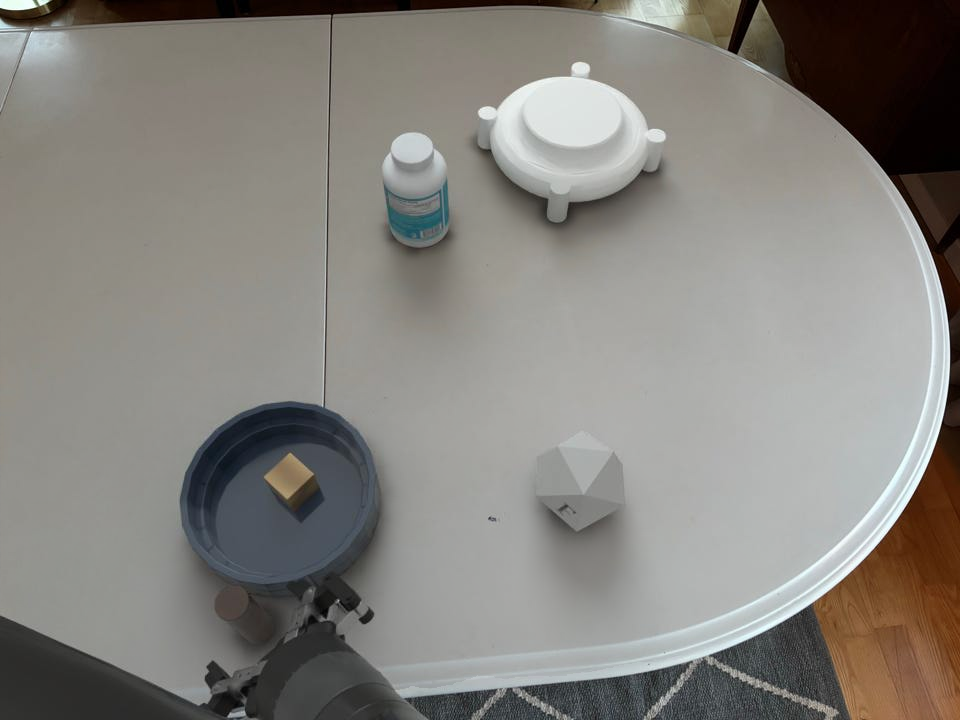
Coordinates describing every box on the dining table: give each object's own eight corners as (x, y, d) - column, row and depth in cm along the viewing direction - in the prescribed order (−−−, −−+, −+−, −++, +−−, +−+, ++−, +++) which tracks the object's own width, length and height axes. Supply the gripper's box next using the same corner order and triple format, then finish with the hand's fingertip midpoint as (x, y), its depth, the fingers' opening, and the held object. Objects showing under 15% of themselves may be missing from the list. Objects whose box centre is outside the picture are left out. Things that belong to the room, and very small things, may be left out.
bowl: (281, 640, 73) (269, 628, 69) (157, 512, 79) (139, 494, 75) (418, 498, 80) (415, 479, 76) (295, 391, 86) (285, 368, 82)
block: (294, 512, 79) (287, 499, 76) (270, 490, 80) (263, 477, 77) (320, 487, 80) (314, 474, 77) (296, 466, 81) (290, 452, 78)
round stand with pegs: (460, 209, 100) (460, 168, 94) (493, 81, 112) (494, 38, 106) (651, 236, 98) (663, 197, 92) (663, 103, 110) (674, 60, 104)
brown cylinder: (258, 651, 73) (229, 627, 64) (238, 630, 73) (207, 604, 65) (281, 627, 74) (256, 601, 65) (261, 607, 75) (234, 578, 66)
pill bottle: (410, 196, 101) (402, 114, 89) (460, 218, 99) (458, 137, 87) (378, 236, 97) (365, 156, 86) (429, 259, 96) (423, 181, 84)
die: (517, 471, 82) (516, 499, 73) (574, 408, 81) (581, 427, 71) (578, 524, 83) (585, 559, 73) (636, 462, 82) (652, 489, 72)
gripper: (373, 590, 54) (292, 535, 67) (207, 769, 48) (156, 670, 62) (435, 659, 56) (345, 593, 70) (285, 835, 51) (219, 726, 64)
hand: (256, 629), depth 66 cm, fingers open, 8 cm apart
